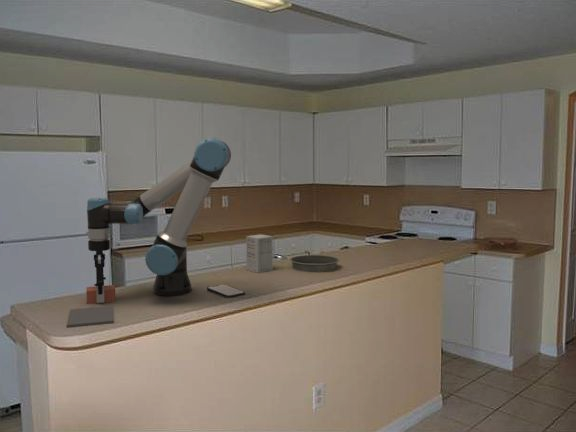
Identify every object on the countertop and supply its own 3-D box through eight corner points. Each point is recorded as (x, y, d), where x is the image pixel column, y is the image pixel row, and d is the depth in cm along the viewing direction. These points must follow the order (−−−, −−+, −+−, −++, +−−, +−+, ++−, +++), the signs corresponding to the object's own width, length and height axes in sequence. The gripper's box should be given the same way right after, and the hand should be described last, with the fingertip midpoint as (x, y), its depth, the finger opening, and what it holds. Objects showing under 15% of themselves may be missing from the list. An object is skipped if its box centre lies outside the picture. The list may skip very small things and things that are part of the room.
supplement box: (261, 267, 252) (261, 234, 250) (273, 270, 245) (273, 236, 244) (245, 270, 246) (245, 235, 244) (257, 273, 239) (257, 237, 237)
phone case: (246, 296, 200) (223, 287, 212) (246, 292, 200) (223, 284, 212) (227, 300, 194) (205, 291, 206) (227, 296, 194) (205, 287, 206)
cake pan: (316, 261, 270) (316, 253, 270) (349, 269, 251) (349, 260, 251) (279, 266, 255) (279, 258, 255) (312, 275, 236) (312, 266, 236)
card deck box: (114, 297, 195) (114, 284, 195) (115, 301, 189) (115, 288, 189) (86, 300, 192) (86, 287, 191) (86, 304, 186) (86, 291, 185)
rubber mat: (112, 307, 180) (112, 305, 180) (113, 322, 164) (113, 320, 164) (70, 311, 176) (70, 309, 176) (66, 327, 159) (66, 325, 159)
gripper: (88, 236, 196) (90, 294, 198) (87, 243, 177) (89, 307, 180) (109, 235, 198) (110, 292, 201) (110, 243, 180) (111, 306, 182)
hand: (100, 299), depth 190 cm, fingers open, 7 cm apart
